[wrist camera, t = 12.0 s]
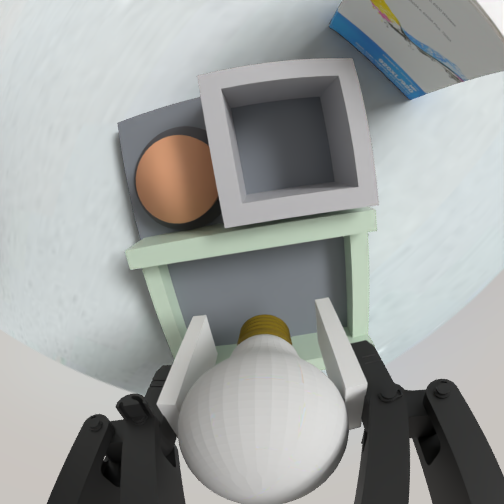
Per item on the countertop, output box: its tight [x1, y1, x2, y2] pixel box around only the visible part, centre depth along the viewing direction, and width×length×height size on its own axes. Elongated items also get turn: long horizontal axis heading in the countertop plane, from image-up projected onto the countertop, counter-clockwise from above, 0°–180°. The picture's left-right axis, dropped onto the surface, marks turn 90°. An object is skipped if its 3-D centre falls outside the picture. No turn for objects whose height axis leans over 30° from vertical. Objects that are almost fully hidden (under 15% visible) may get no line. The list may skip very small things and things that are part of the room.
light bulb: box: [178, 314, 349, 504], centre depth 10 cm, size 6×6×10 cm
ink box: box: [329, 0, 504, 100], centre depth 8 cm, size 9×8×12 cm
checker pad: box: [136, 135, 219, 223], centre depth 15 cm, size 5×5×1 cm
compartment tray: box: [118, 58, 379, 370], centre depth 16 cm, size 15×19×6 cm
